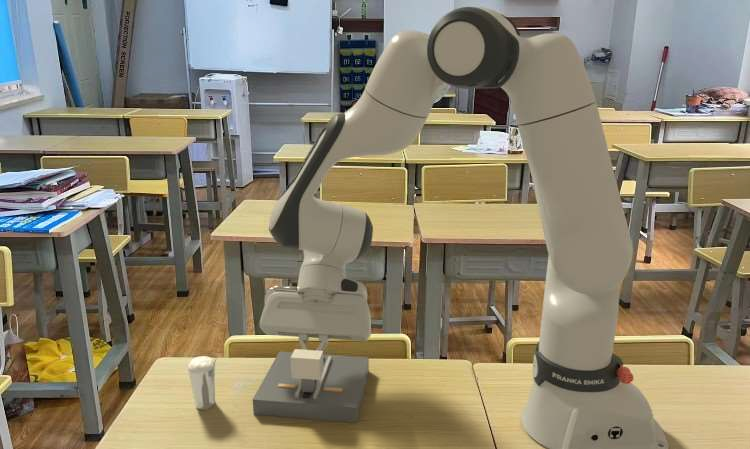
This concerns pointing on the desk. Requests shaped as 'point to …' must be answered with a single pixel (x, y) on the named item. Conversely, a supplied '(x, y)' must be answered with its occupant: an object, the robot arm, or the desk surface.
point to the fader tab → (307, 367)
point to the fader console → (330, 396)
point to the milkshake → (203, 381)
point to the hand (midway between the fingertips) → (310, 361)
